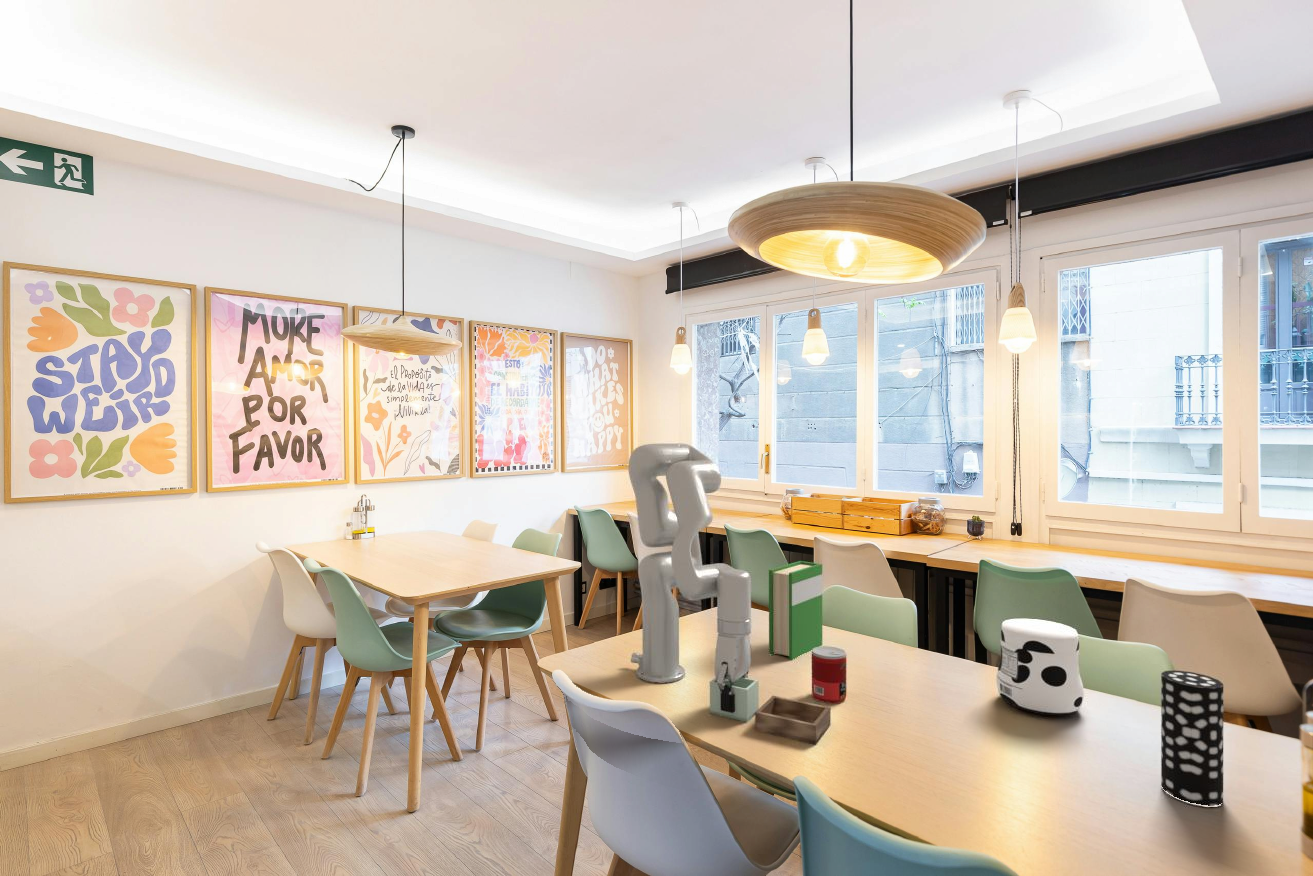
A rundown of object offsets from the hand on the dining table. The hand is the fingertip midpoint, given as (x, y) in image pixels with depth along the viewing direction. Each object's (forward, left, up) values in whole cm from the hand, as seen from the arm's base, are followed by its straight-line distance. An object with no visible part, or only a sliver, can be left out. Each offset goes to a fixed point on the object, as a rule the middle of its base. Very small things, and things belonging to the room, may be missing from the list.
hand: (734, 704), depth 149 cm
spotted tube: (+82, +8, -2) cm, 82 cm away
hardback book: (-2, +49, -2) cm, 49 cm away
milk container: (+59, +38, -2) cm, 70 cm away
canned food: (+16, +19, -2) cm, 25 cm away
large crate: (+14, -1, -2) cm, 14 cm away
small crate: (0, 0, -2) cm, 2 cm away
